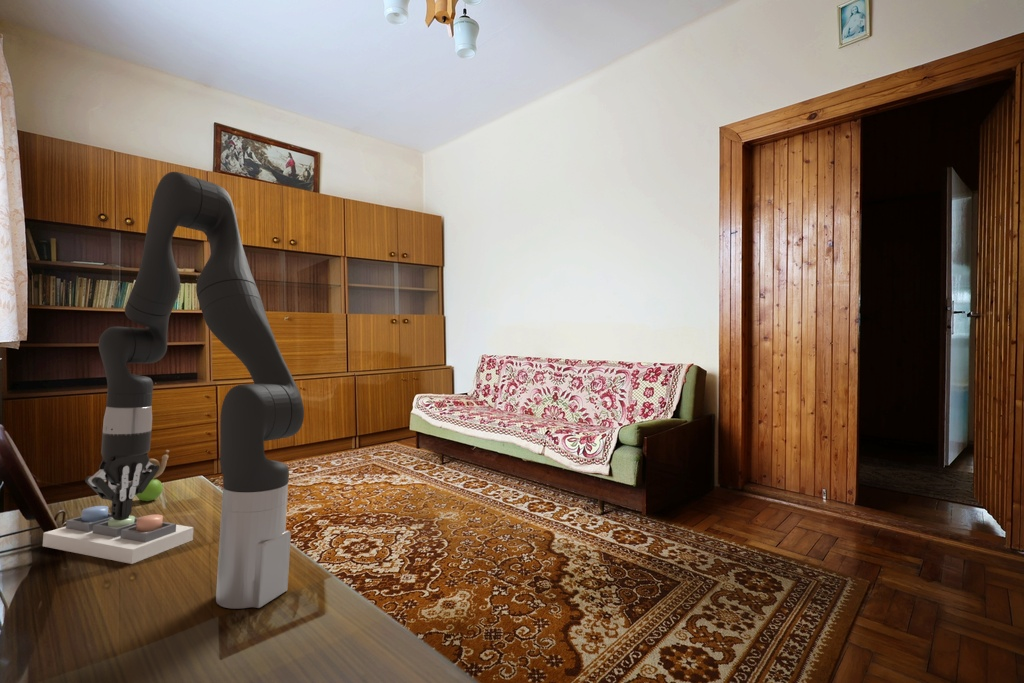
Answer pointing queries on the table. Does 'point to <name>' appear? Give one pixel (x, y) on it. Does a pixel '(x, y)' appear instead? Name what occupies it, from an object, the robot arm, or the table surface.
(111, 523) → the sage button
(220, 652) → the table surface
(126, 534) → the button panel
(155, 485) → the snail figurine
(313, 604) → the table surface
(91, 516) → the slate button
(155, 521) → the salmon button
